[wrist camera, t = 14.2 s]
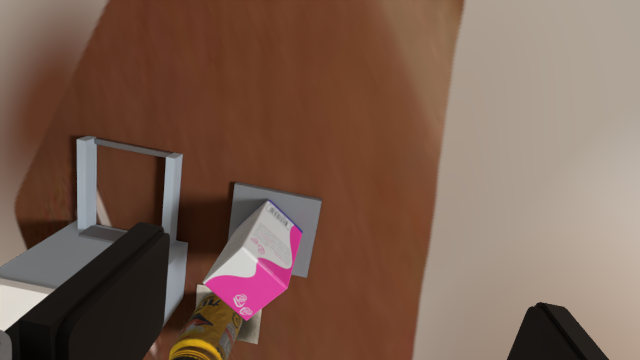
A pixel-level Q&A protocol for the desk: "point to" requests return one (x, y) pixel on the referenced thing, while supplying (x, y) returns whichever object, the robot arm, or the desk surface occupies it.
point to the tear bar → (131, 147)
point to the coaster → (292, 204)
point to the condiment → (213, 329)
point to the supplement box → (256, 261)
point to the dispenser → (86, 244)
